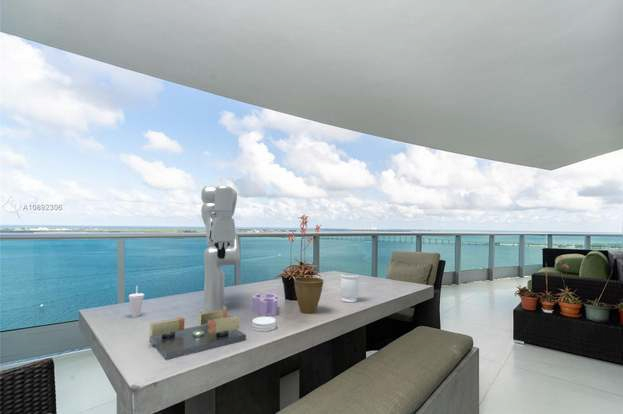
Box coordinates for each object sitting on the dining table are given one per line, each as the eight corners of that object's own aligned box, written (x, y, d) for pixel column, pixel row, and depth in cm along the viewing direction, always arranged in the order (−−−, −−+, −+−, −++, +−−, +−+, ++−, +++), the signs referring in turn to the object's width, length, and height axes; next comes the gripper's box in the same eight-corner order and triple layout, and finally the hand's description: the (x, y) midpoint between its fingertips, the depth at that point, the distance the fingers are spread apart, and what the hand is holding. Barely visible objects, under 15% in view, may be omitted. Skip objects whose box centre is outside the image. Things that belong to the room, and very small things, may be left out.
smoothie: (126, 318, 139) (128, 286, 140) (127, 315, 144) (129, 284, 145) (143, 317, 142) (145, 285, 143) (143, 313, 147) (145, 283, 148)
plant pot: (289, 314, 152) (290, 280, 153) (298, 306, 166) (298, 276, 167) (319, 316, 148) (320, 282, 149) (325, 308, 162) (326, 277, 163)
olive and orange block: (152, 341, 107) (153, 325, 107) (148, 337, 110) (149, 322, 111) (184, 334, 115) (185, 319, 115) (180, 331, 118) (180, 316, 118)
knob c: (235, 329, 121) (236, 315, 121) (240, 332, 117) (240, 318, 118) (206, 334, 115) (207, 319, 115) (210, 338, 111) (211, 322, 111)
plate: (149, 341, 113) (149, 332, 113) (222, 326, 131) (222, 318, 132) (166, 359, 98) (166, 349, 98) (245, 339, 116) (246, 331, 116)
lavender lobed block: (282, 315, 149) (283, 300, 150) (256, 317, 145) (257, 302, 146) (273, 305, 168) (273, 292, 169) (250, 306, 164) (250, 293, 165)
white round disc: (259, 323, 137) (259, 315, 137) (280, 326, 134) (280, 317, 134) (247, 330, 128) (247, 321, 128) (268, 333, 124) (269, 324, 125)
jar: (339, 302, 177) (340, 275, 178) (341, 298, 187) (341, 273, 188) (358, 303, 175) (358, 276, 176) (358, 299, 186) (359, 273, 187)
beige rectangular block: (201, 329, 120) (202, 315, 121) (197, 326, 124) (197, 312, 124) (228, 323, 128) (228, 310, 128) (223, 321, 131) (223, 308, 131)
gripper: (209, 214, 126) (207, 260, 125) (242, 215, 136) (241, 258, 135) (202, 214, 132) (200, 258, 131) (234, 215, 141) (233, 256, 141)
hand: (221, 258), depth 133 cm, fingers closed
